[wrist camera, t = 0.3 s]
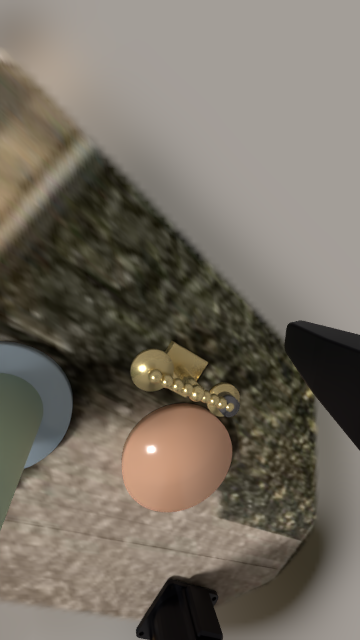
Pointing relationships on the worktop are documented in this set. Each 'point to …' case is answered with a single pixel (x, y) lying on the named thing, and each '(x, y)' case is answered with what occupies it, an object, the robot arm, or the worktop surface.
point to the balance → (182, 378)
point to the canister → (16, 433)
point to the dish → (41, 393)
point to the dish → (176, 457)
